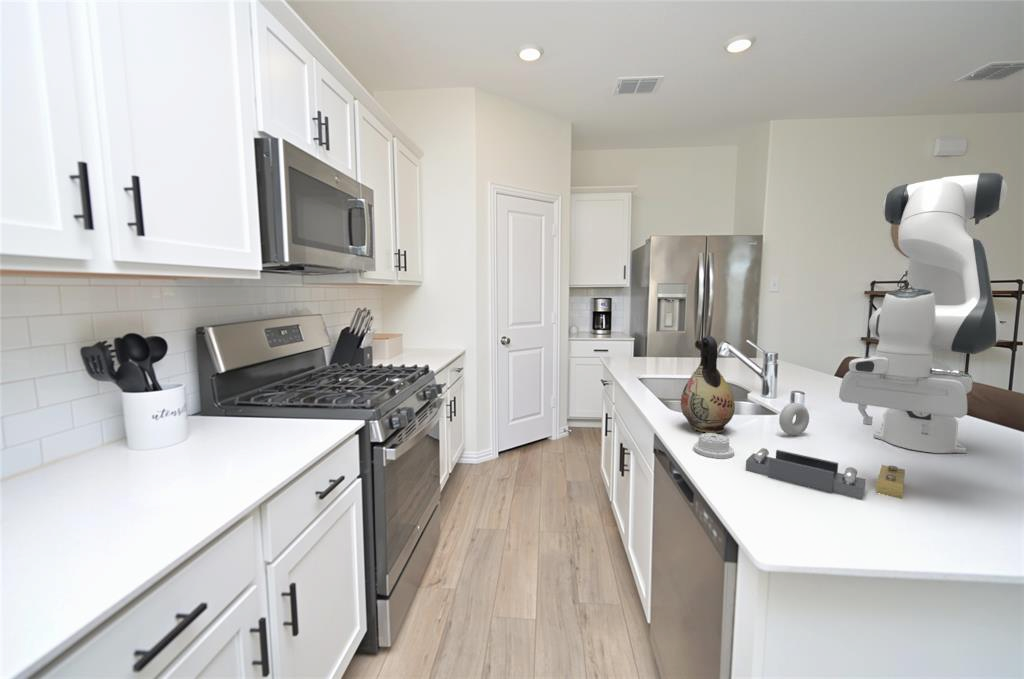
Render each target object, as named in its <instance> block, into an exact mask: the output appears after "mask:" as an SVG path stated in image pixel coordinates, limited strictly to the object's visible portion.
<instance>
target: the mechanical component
mask: <svg viewBox="0 0 1024 679" xmlns="http://www.w3.org/2000/svg"><path fill="white" fill-rule="evenodd" d="M692 448H693V451H694V450H695V451H696V452H697V453H696V452H695V451H694V452H695V453H696V454H698V453H699V454H698V455H700V454H701V456H703V455H704V456H703V457H707V456H708V457H707V458H712V457H713V459H730V458H732V457H734V456H735V449H734V448H733V447H732V446H730V437H728V436H724V435H723V434H720V433H700V434H699V435H698V441H697V442H695V443H693V446H692Z"/></svg>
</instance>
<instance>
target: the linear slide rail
mask: <svg viewBox="0 0 1024 679" xmlns="http://www.w3.org/2000/svg"><path fill="white" fill-rule="evenodd" d="M769 454H770V452H769V450H768V449H767V448H764V447H762V448H761V449H759V450H758V452H756V453H752V454H751V455H750V456H749V457H747V459H746V460H745V471H748V472H752V473H756V474H760V475H763V476H767V477H768V478H771V479H772V480H773V479H774V480H777V481H781V482H786V483H790V484H793V485H798V486H801V487H804V486H805V488H808V487H809V488H808V489H812V488H813V489H812V490H816V489H817V490H816V491H821V492H823V493H824V492H825V493H829V494H833V493H834V494H837V493H838V494H837V495H841V494H842V495H841V496H845V495H846V497H849V496H850V497H851V498H853V497H854V499H857V500H861V501H863V498H864V494H865V491H866V481H867V480H866V479H867V478H862V477H858V476H857V475H858V470H857V469H856V468H854V467H852V466H849V467H847V468H845V470H844V473H841V472H838V470H839V463H838V462H835V461H832V460H831V461H830V460H827V459H822V458H817V457H812V456H808V455H803V454H800V453H799V454H798V453H795V452H794V453H793V452H789V451H784V450H780V449H776V451H775V457H771V456H769ZM850 497H849V498H850Z"/></svg>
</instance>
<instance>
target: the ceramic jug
mask: <svg viewBox="0 0 1024 679" xmlns="http://www.w3.org/2000/svg"><path fill="white" fill-rule="evenodd" d="M694 345H695V346H694V347H695V348H696V349H698V350H699V351H700V353H701V354H700V355H701V356H700V357H701V358H700V362H699V364H698V367H697V368H696V369H695V370H694V372H692V374H691V376H690V377H689V378H688V381H687V382H686V384H685V385H684V388H683V390H682V392H681V398H680V408H681V412H682V415H683V416H684V417H685V419H686V421H688V423H689V424H690V426H691V429H692V428H694V429H695V430H694V429H693V430H694V431H696V430H698V431H697V432H699V431H701V432H700V433H703V432H705V433H704V434H706V433H715V434H720V433H723V432H724V431H725V427H726V426H727V425H728V423H730V422H731V420H732V419H733V416H734V413H735V409H736V408H735V407H736V404H735V400H734V399H735V398H734V396H733V392H732V390H731V387H730V386H729V384H728V382H727V381H726V379H725V378H724V376H723V375H722V373H721V372H720V370H719V369H718V368H717V366H718V364H717V362H718V354H719V352H718V343H717V340H716V338H715V337H713V336H712V335H706V336H704V337H702V340H700V339H696V341H695V343H694Z"/></svg>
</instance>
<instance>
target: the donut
mask: <svg viewBox="0 0 1024 679" xmlns="http://www.w3.org/2000/svg"><path fill="white" fill-rule="evenodd" d="M794 417H795V420H794ZM793 420H794V422H793ZM778 421H779V424H778V425H779V426H780V429H781V430H782V431H783V433H784V434H787V435H788V436H794V437H795V436H799V435H801V434H802V433H804V432H805V431H806V429H807V428H808V426H809V423H810V422H809V421H810V414H809V411H808V409H807V408H806V405H803V404H801V403H799V402H791V403H788V404H787V405H785V406H784V407H783V409H782V410H781V411H780V414H779V420H778Z"/></svg>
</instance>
